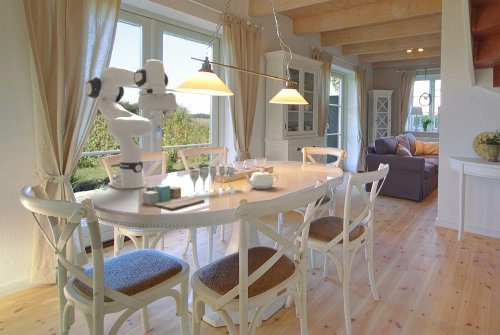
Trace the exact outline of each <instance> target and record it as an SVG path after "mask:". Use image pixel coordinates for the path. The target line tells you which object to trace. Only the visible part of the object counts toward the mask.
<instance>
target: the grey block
mask: <svg viewBox="0 0 500 335" xmlns="http://www.w3.org/2000/svg"><path fill="white" fill-rule="evenodd" d="M142 203H143V204H147V205H154V204H155V203H160V201H159V192H155V191H148V192H147V191H145V192H144V191H143V192H142Z"/></svg>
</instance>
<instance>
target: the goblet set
mask: <svg viewBox="0 0 500 335" xmlns="http://www.w3.org/2000/svg"><path fill="white" fill-rule="evenodd" d="M209 175H210V178H211V182H212V183H215V182H214V181H215V178H216V175H217V166H210V167H205V166H204V167H199V169H198V170H196V169H194V170H192V169H191V170H190V172H189V178H190V179H191V181H192V183H193V191H191V192H190V194H191V195H198V194H199V193H201V194H206V193H209V192H217V190H216V189H210V190H209V191H208V190H205V182H206V180H207V178H208V177H209ZM218 175H219V177H220V182H221V187H220V188H219V189H218V190H219V191H225V190H234V189H235V187H232V186H231V185H232V184H231V183H232V179H233V177H234V176H235V175H236V168H235V167H234V166H233V167H232V166H228V167H227V166H223V165H220V166H218ZM224 176H227V178H228V179H229V187H226V188H223V179H224ZM199 177H200V179H201V180H202V183H203V190H200V191H199V192H198V191H196V184H197V181H198V180H199Z"/></svg>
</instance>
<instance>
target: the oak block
mask: <svg viewBox="0 0 500 335" xmlns="http://www.w3.org/2000/svg"><path fill="white" fill-rule="evenodd" d="M181 197H182V187H179V186H170V200H172V199H177V198H181Z"/></svg>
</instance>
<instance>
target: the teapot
mask: <svg viewBox="0 0 500 335" xmlns="http://www.w3.org/2000/svg"><path fill="white" fill-rule="evenodd" d="M242 175H244V176H245V179H246V182H247V183H248V184H249V185H250V186H251V187H252V188H253V189H257V190H267V189H270V188H271V187H273V185H274V183H275V182H276V181H277V180H278V177H279V176H278V175H277V174H275V173H271V172H267V171H265V169H263V168H262V169H259V171H256V172H255V171H254V172H253V173H252V175H251V177H249V175H248V174H246V173H243V174H242ZM273 176H275V178H273Z"/></svg>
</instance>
